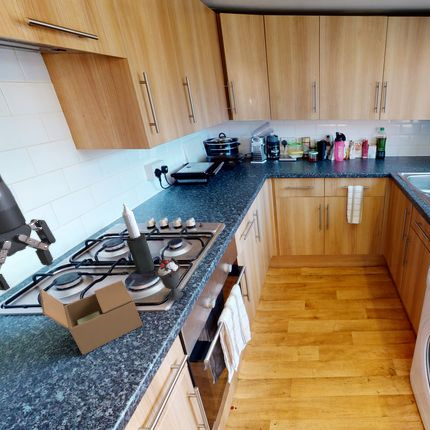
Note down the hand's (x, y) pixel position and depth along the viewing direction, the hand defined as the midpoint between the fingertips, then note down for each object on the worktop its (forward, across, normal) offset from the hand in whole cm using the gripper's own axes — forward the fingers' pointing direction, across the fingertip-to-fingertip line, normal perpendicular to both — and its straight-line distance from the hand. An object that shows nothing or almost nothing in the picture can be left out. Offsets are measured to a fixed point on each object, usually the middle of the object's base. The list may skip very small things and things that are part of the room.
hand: (27, 276), depth 61 cm
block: (+22, -5, +3) cm, 22 cm away
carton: (+22, -7, +5) cm, 24 cm away
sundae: (+22, -21, +15) cm, 34 cm away
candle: (+22, -32, -4) cm, 39 cm away
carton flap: (+10, -1, +1) cm, 10 cm away
